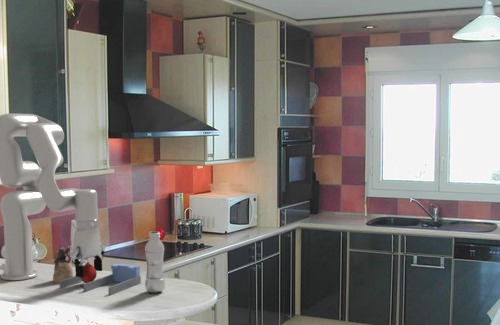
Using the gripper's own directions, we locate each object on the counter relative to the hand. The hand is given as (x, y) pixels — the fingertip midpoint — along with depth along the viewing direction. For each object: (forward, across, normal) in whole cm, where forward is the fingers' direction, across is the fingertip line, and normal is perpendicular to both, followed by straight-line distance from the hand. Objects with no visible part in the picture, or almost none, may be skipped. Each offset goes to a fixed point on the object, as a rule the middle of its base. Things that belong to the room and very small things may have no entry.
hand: (89, 273), depth 212 cm
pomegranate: (+4, 0, -1) cm, 4 cm away
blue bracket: (+4, -8, +10) cm, 13 cm away
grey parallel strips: (+4, 0, +4) cm, 6 cm away
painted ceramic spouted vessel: (+4, -1, -13) cm, 13 cm away
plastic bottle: (+5, -1, +26) cm, 27 cm away
